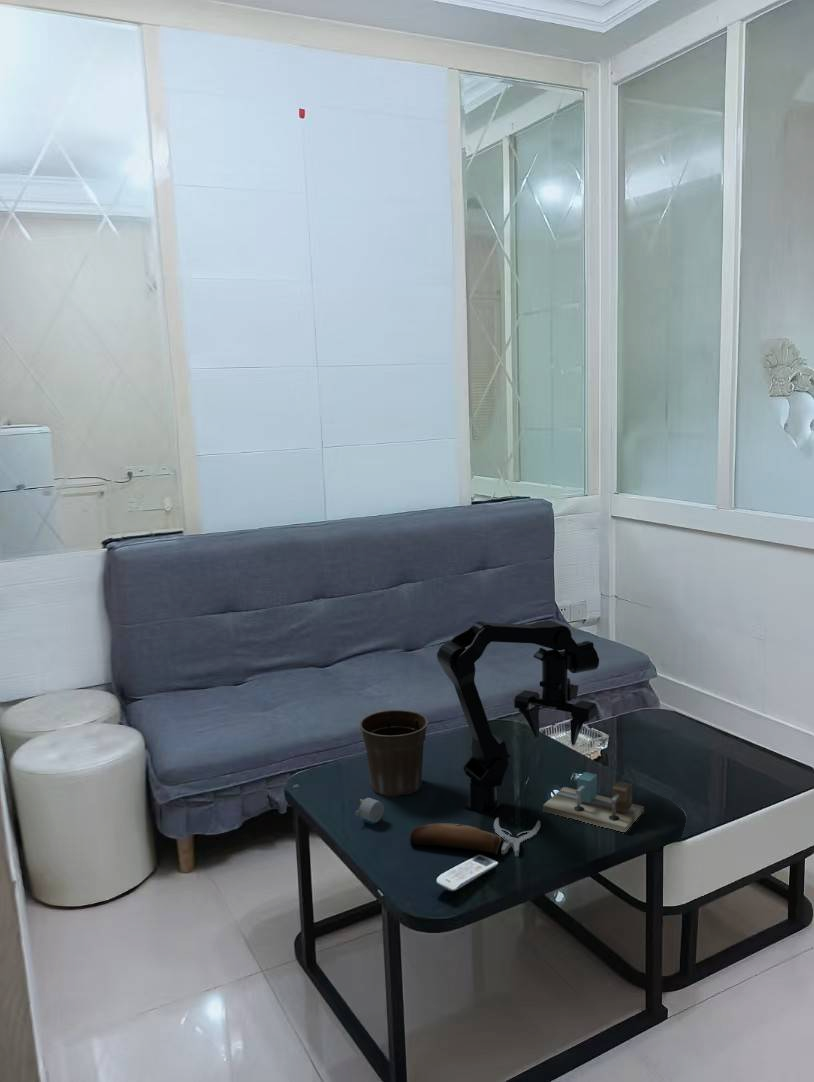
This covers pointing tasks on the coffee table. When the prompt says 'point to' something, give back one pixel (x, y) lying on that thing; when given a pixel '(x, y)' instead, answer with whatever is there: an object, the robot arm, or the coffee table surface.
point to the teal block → (586, 787)
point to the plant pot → (394, 750)
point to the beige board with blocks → (598, 807)
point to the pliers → (511, 840)
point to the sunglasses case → (456, 837)
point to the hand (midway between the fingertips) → (555, 740)
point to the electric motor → (370, 810)
